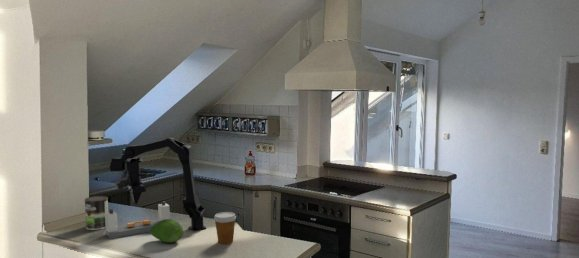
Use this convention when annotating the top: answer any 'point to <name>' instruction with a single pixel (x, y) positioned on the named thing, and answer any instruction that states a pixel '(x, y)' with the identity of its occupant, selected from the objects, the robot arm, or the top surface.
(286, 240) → the top surface
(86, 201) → the coffee can
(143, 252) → the top surface
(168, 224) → the fruit
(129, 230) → the grey board
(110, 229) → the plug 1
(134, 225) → the orange dumbbell
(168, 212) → the plug
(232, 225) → the disposable coffee cup
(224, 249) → the top surface
